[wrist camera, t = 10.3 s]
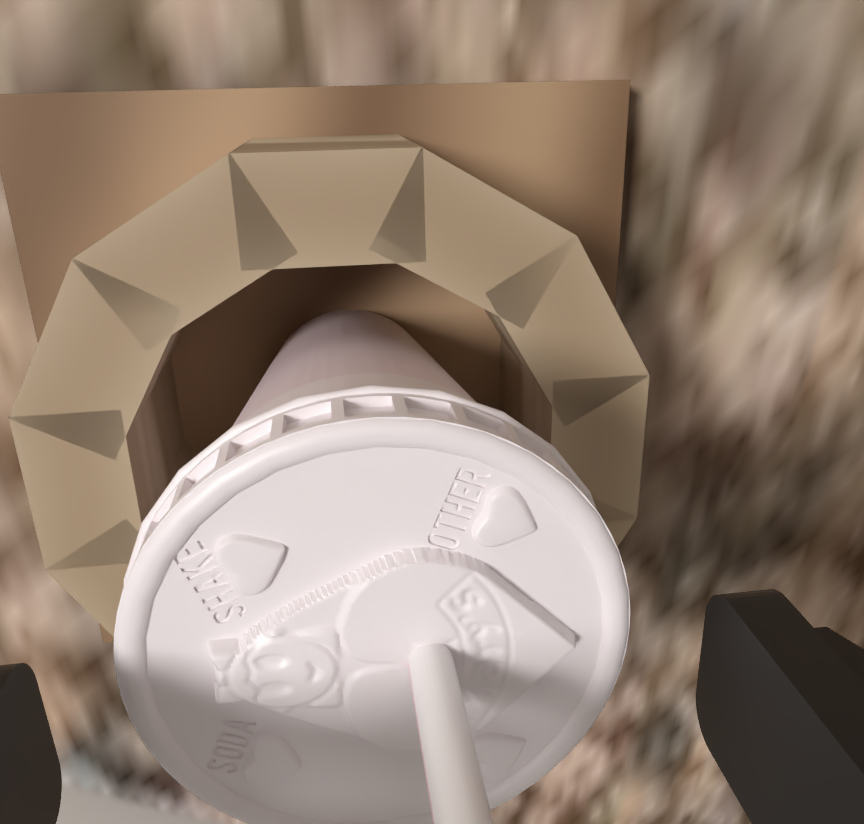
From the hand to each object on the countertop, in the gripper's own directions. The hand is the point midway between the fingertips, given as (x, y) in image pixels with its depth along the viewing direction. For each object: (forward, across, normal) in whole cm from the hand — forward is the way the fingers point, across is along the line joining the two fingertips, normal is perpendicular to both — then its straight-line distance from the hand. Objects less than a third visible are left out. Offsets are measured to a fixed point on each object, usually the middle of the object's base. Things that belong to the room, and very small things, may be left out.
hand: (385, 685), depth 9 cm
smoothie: (+10, 0, 0) cm, 10 cm away
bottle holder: (+11, 0, 0) cm, 11 cm away
